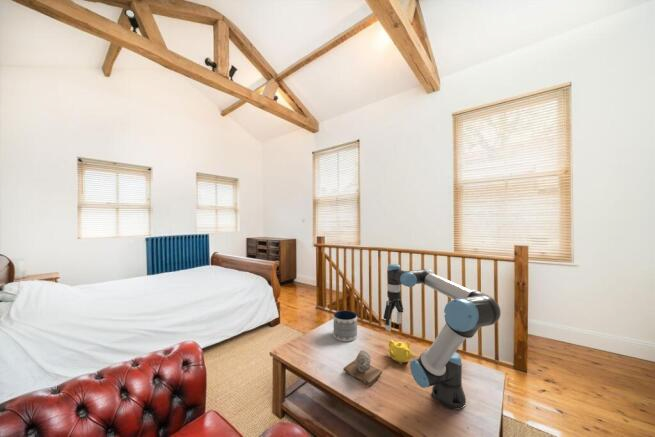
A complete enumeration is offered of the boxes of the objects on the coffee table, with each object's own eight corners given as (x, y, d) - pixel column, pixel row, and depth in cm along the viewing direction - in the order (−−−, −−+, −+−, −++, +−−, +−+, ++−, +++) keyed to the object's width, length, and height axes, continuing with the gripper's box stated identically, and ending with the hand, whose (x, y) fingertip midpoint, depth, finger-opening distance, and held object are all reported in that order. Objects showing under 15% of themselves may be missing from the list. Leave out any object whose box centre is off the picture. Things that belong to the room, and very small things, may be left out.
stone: (352, 376, 132) (352, 358, 132) (357, 361, 146) (357, 345, 146) (368, 379, 129) (368, 361, 129) (372, 364, 143) (372, 347, 143)
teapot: (399, 348, 166) (399, 332, 166) (421, 361, 151) (421, 343, 151) (378, 357, 155) (378, 340, 155) (400, 372, 140) (400, 353, 140)
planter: (350, 344, 171) (350, 321, 171) (329, 337, 181) (329, 316, 181) (361, 334, 186) (361, 313, 186) (340, 328, 196) (340, 308, 196)
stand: (382, 376, 137) (382, 371, 137) (369, 388, 127) (369, 382, 127) (356, 363, 149) (356, 358, 149) (343, 373, 139) (343, 368, 139)
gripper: (397, 285, 153) (397, 318, 153) (377, 294, 134) (377, 331, 134) (408, 287, 148) (408, 321, 147) (389, 297, 129) (389, 336, 129)
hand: (393, 326), depth 141 cm, fingers open, 13 cm apart
